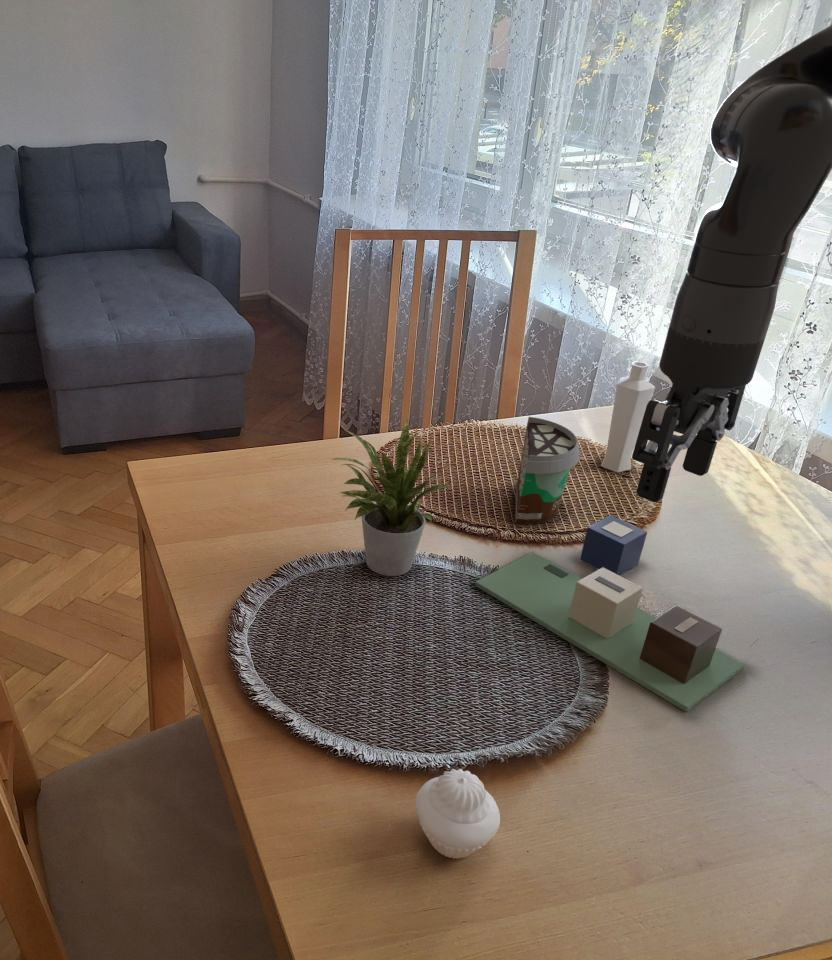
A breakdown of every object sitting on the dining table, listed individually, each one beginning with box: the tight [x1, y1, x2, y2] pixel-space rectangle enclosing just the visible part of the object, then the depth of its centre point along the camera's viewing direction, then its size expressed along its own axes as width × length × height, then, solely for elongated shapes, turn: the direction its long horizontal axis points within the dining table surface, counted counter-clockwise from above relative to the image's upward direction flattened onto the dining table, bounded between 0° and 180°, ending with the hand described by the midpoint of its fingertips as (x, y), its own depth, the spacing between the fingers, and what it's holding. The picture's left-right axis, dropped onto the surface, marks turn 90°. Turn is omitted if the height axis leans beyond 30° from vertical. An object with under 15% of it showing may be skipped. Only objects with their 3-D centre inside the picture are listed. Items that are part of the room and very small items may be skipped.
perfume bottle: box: [600, 360, 656, 473], centre depth 115 cm, size 5×4×15 cm
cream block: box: [569, 567, 644, 639], centre depth 88 cm, size 4×4×5 cm
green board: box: [474, 551, 745, 713], centre depth 89 cm, size 10×24×1 cm, turn 34°
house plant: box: [332, 419, 453, 577], centre depth 97 cm, size 14×14×16 cm
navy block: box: [579, 514, 648, 576], centre depth 98 cm, size 4×4×5 cm
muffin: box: [414, 768, 501, 860], centre depth 65 cm, size 6×6×7 cm
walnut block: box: [640, 605, 723, 684], centre depth 82 cm, size 4×4×5 cm
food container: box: [514, 416, 580, 525], centre depth 107 cm, size 12×6×10 cm, turn 161°
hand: (672, 484), depth 84 cm, fingers open, 8 cm apart
